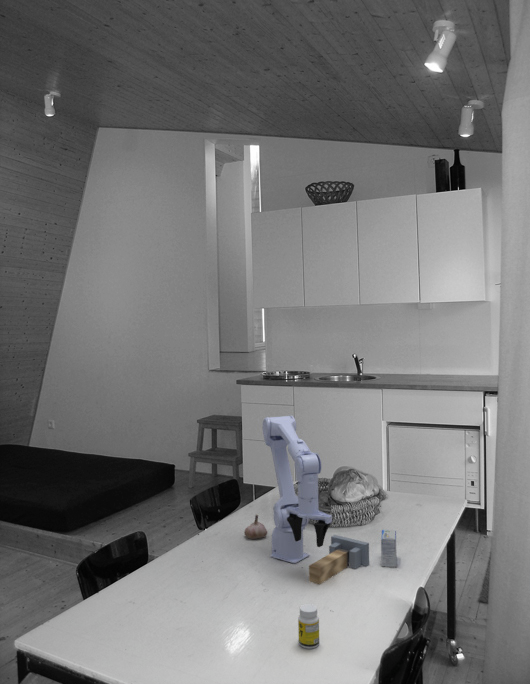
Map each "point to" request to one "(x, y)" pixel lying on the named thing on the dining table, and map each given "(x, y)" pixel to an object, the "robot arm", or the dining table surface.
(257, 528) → the garlic bulb
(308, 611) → the supplement bottle
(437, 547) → the dining table surface
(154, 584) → the dining table surface
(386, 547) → the medicine box
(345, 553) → the rail
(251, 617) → the dining table surface
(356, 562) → the grey stepped block
